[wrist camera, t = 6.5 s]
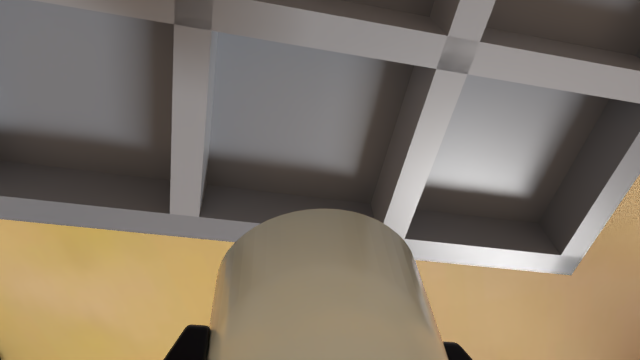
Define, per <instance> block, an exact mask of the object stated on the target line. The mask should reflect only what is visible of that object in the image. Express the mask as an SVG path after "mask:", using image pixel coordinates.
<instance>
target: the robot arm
mask: <svg viewBox="0 0 640 360" xmlns="http://www.w3.org/2000/svg"><path fill="white" fill-rule="evenodd" d="M209 334H210V328H209V327H208V326H205V325H188V326H187V327H186V328H185V329H184V330H183V332H182V333H181V335H180V336H179V338H178V339H177V341H176V342H175V344H174V345H173V346H172V348H171V349H170V351H169V352H168V354H167V355H166V357H165V358H164V360H206V354H207V347H208V341H209ZM443 344H444V347H445V350H446V353H447V356H448V359H449V360H472V359H471V358H470V356H469V355H468V354H467V353H466V352H465V351H464V350H463V348H462V347H461V346H460V345H458V344H457V343H454V342H443ZM0 360H1V358H0Z"/></svg>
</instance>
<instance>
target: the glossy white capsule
mask: <svg viewBox="0 0 640 360" xmlns="http://www.w3.org/2000/svg"><path fill="white" fill-rule="evenodd" d="M209 328H210V334H209V341H208V347H207V354H206V360H449V359H448V356H447V353H446V350H445V347H444V344H443V341H442V338H441V335H440V332H439V329H438V327H437V324H436V321H435V318H434V315H433V312H432V309H431V306H430V303H429V300H428V297H427V294H426V291H425V288H424V285H423V282H422V279H421V276H420V274H419V271H418V268H417V265H416V262H415V259H414V257H413V254H412V252H411V250H410V248H409V247H408V245H407V244H406V242H405V241H404V240H403V239H402V238H401V237H400V236H399V235H398V234H397V233H396V232H395V231H394V230H392V229H391V228H390V227H389V226H387V225H385V224H383V223H382V222H380V221H378V220H376V219H373V218H371V217H369V216H366V215H363V214H359V213H356V212H352V211H346V210H340V209H308V210H301V211H295V212H291V213H287V214H283V215H280V216H277V217H275V218H272V219H269V220H267V221H265V222H263V223H261V224H259V225H257V226H255V227H254V228H252V229H251V230H250V231H248V232H247V233H245V234H244V235H243V236H242V237H241V238H239V239H238V240H237V241H236V242H235V243H234V244H233V246H232V247H231V248H230V249H229V250H228V252H227V253H226V255H225V257H224V258H223V260H222V262H221V265H220V267H219V270H218V275H217V280H216V287H215V293H214V300H213V306H212V313H211V319H210V326H209Z"/></svg>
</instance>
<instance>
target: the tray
mask: <svg viewBox="0 0 640 360" xmlns="http://www.w3.org/2000/svg"><path fill="white" fill-rule="evenodd" d="M639 174H640V0H0V219H6V220H16V221H26V222H36V223H46V224H56V225H66V226H77V227H87V228H97V229H107V230H117V231H127V232H138V233H148V234H158V235H168V236H178V237H188V238H198V239H209V240H219V241H229V242H236V241H237V240H238V239H239V238H241V237H242V236H243V235H244V234H245V233H247V232H248V231H250V230H251V229H252V228H254V227H255V226H257V225H259V224H261V223H263V222H265V221H267V220H269V219H272V218H275V217H277V216H280V215H283V214H287V213H291V212H295V211H301V210H308V209H340V210H346V211H352V212H356V213H359V214H363V215H366V216H369V217H371V218H373V219H376V220H378V221H380V222H382V223H383V224H385V225H387V226H389V227H390V228H391V229H392V230H394V231H395V232H396V233H397V234H398V235H399V236H400V237H401V238H402V239H403V240H404V241H405V242H406V244H407V245H408V247H409V248H410V250H411V252H412V254H413V257H414V259H415V260H422V261H432V262H442V263H452V264H462V265H472V266H483V267H493V268H503V269H513V270H523V271H533V272H543V273H554V274H564V275H572V273H573V272H574V270H575V269H576V267H577V266H578V264H579V263H580V261H581V260H582V258H583V257H584V256H585V254H586V253H587V251H588V250H589V248H590V247H591V245H592V244H593V242H594V241H595V239H596V238H597V236H598V235H599V233H600V232H601V230H602V229H603V227H604V226H605V224H606V223H607V222H608V220H609V219H610V217H611V216H612V214H613V213H614V211H615V210H616V208H617V207H618V205H619V204H620V202H621V201H622V199H623V198H624V196H625V195H626V193H627V192H628V191H629V189H630V188H631V186H632V185H633V183H634V182H635V180H636V179H637V177H638V176H639Z"/></svg>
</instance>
